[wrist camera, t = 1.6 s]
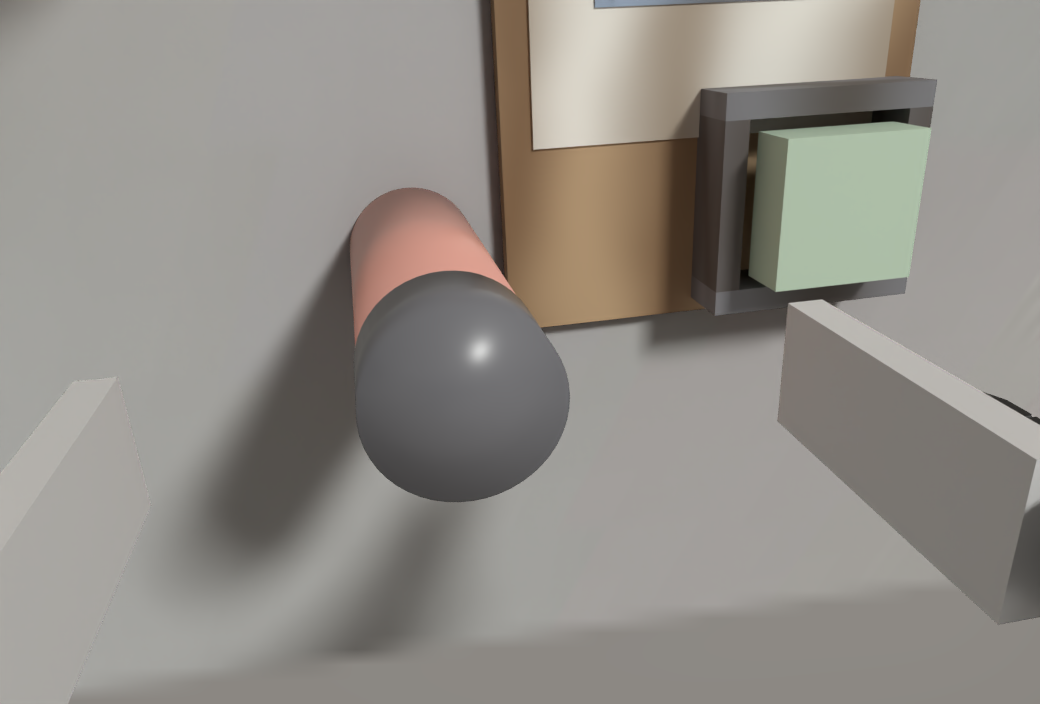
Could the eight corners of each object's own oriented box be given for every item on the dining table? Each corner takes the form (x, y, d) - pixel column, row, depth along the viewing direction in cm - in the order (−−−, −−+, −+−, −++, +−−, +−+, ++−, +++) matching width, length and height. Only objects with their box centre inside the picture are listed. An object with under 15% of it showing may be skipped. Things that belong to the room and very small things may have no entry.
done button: (748, 275, 26) (775, 292, 25) (758, 131, 25) (788, 139, 23) (874, 261, 27) (908, 276, 25) (893, 121, 25) (931, 128, 24)
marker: (356, 314, 27) (369, 516, 16) (340, 191, 25) (342, 320, 14) (478, 302, 27) (571, 485, 16) (470, 181, 26) (567, 295, 15)
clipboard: (507, 324, 28) (522, 352, 25) (468, -421, 20) (486, -481, 18) (870, 283, 30) (915, 305, 28) (961, -395, 22) (1034, -445, 20)
